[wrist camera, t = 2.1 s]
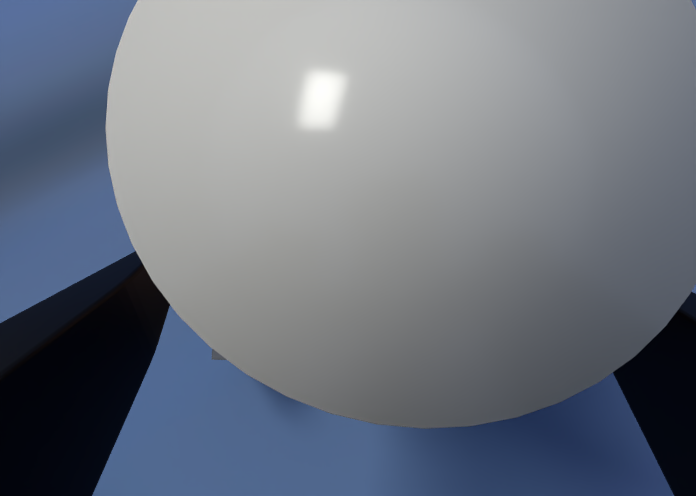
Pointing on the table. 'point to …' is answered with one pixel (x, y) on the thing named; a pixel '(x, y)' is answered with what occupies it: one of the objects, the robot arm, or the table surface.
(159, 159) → the jar
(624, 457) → the table surface
